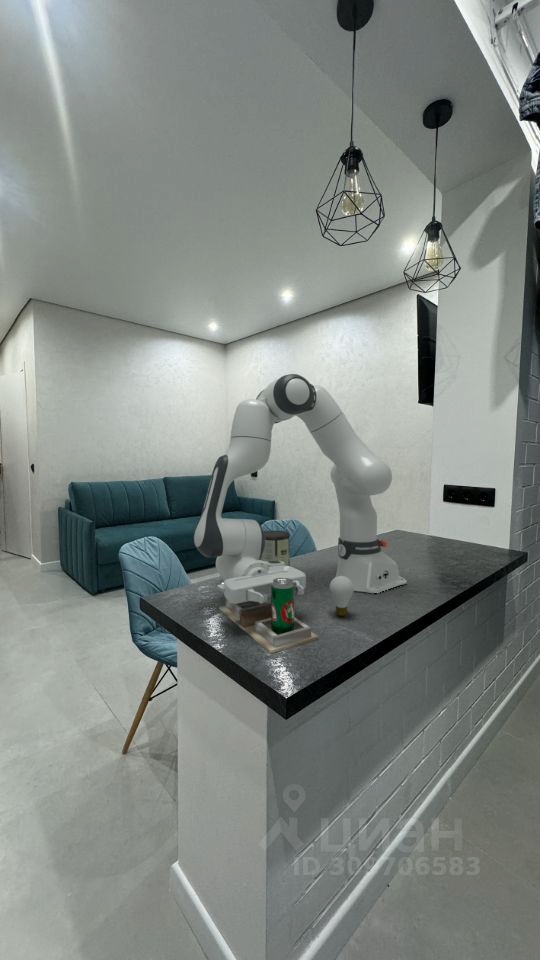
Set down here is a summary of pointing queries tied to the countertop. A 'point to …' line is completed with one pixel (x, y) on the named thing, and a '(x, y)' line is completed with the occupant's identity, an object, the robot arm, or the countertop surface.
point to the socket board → (266, 626)
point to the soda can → (282, 605)
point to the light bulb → (341, 593)
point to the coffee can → (276, 546)
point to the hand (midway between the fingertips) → (283, 595)
